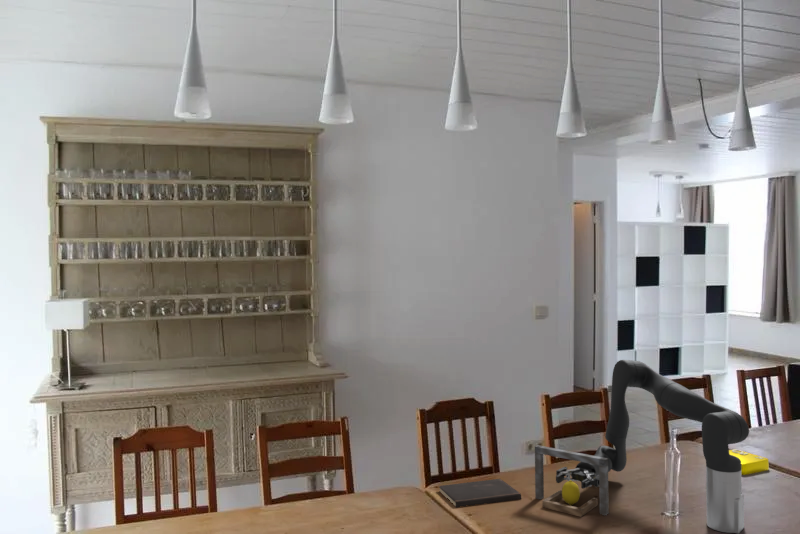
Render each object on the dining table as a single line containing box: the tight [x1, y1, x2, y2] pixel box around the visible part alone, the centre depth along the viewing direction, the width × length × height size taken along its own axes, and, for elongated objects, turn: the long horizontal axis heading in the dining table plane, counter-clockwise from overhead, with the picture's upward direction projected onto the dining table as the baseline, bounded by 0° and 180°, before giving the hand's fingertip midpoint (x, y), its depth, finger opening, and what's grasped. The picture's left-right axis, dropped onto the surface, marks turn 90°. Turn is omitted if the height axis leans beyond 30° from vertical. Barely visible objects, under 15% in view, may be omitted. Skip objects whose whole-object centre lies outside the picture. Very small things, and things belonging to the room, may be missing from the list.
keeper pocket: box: [534, 444, 610, 518], centre depth 206 cm, size 24×12×17 cm, turn 50°
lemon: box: [561, 480, 581, 506], centre depth 207 cm, size 6×6×8 cm
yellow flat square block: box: [729, 448, 770, 476], centre depth 243 cm, size 15×15×5 cm
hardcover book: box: [438, 478, 522, 508], centre depth 218 cm, size 16×23×2 cm
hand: (569, 482), depth 206 cm, fingers open, 8 cm apart
